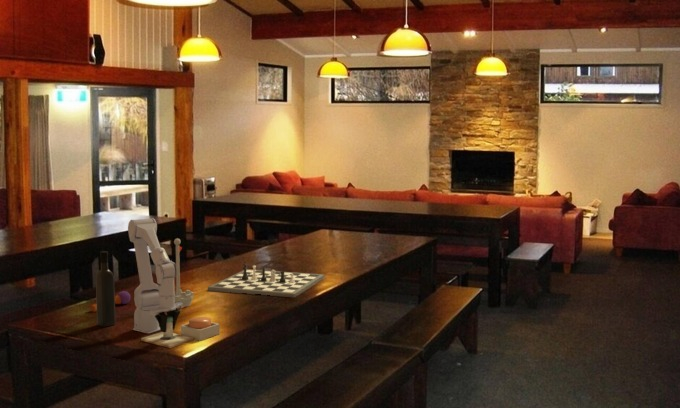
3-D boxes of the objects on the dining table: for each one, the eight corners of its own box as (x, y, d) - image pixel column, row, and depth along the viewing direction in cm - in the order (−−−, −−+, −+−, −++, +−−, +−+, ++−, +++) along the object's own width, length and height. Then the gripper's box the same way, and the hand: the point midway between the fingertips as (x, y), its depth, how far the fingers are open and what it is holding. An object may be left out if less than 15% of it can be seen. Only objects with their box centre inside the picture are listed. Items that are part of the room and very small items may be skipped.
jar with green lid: (160, 335, 278) (160, 317, 277) (168, 333, 281) (167, 315, 280) (167, 337, 275) (167, 319, 275) (175, 335, 279) (174, 317, 278)
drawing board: (141, 340, 278) (140, 338, 278) (165, 332, 288) (165, 330, 288) (170, 348, 269) (170, 345, 269) (194, 340, 279) (194, 337, 279)
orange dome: (184, 329, 284) (184, 320, 284) (200, 324, 291) (200, 315, 290) (200, 333, 279) (199, 324, 279) (215, 327, 286) (215, 319, 286)
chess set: (207, 292, 359) (207, 269, 357) (245, 273, 401) (245, 253, 400) (294, 299, 346) (294, 275, 344) (324, 279, 388) (324, 257, 387)
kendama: (87, 302, 320) (122, 289, 337) (90, 315, 320) (125, 302, 337) (95, 301, 317) (131, 289, 333) (98, 315, 317) (134, 301, 334)
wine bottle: (108, 322, 303) (106, 249, 299) (116, 324, 299) (114, 251, 296) (96, 325, 298) (93, 251, 295) (104, 327, 295) (101, 253, 291)
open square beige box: (180, 335, 284) (180, 325, 284) (200, 329, 292) (200, 319, 292) (200, 340, 278) (200, 330, 278) (219, 334, 287) (219, 324, 286)
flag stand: (186, 308, 324) (185, 241, 321) (158, 307, 327) (157, 240, 323) (198, 301, 337) (196, 236, 333) (171, 300, 340) (169, 235, 336)
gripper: (159, 300, 268) (160, 336, 270) (188, 292, 280) (189, 327, 282) (146, 297, 272) (147, 333, 274) (175, 290, 284) (176, 324, 286)
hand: (167, 330), depth 278 cm, fingers closed on jar with green lid, 3 cm apart
